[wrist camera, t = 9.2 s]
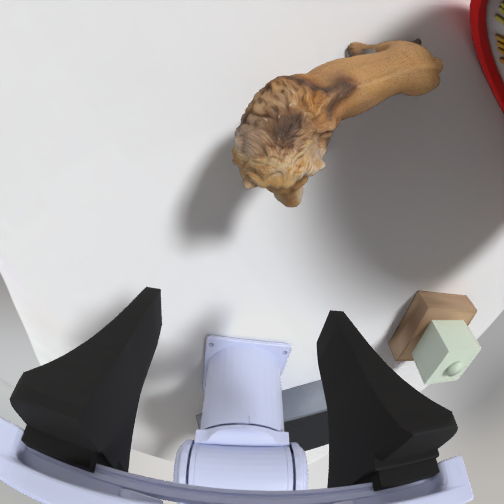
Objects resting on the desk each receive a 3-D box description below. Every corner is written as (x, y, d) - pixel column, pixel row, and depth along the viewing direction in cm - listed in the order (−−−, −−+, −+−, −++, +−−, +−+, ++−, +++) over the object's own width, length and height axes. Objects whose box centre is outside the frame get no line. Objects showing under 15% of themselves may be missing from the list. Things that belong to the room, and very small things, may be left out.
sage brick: (443, 351, 26) (459, 383, 22) (411, 353, 26) (426, 388, 22) (463, 320, 24) (483, 352, 20) (431, 320, 24) (451, 355, 20)
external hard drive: (192, 409, 36) (189, 435, 33) (334, 368, 31) (341, 398, 28) (242, 444, 42) (241, 465, 38) (360, 412, 37) (366, 435, 34)
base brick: (436, 343, 29) (444, 359, 27) (388, 343, 29) (395, 361, 26) (466, 295, 26) (477, 310, 23) (417, 290, 25) (428, 307, 23)
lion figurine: (270, 179, 20) (280, 244, 12) (219, 118, 18) (192, 143, 10) (433, 70, 16) (522, 78, 8) (393, 7, 13) (470, -22, 6)
